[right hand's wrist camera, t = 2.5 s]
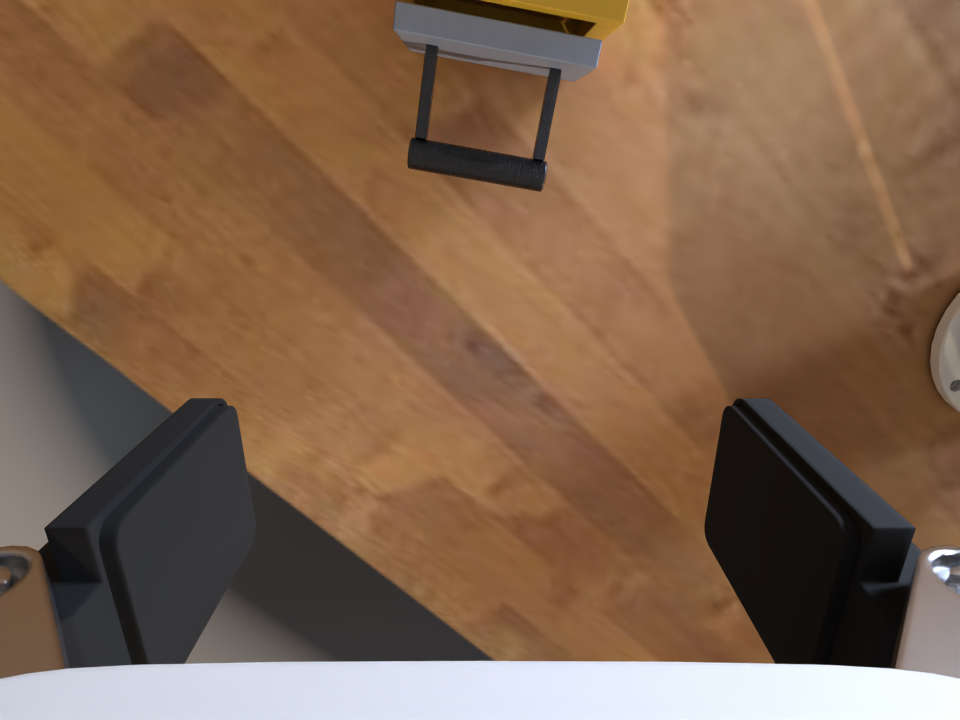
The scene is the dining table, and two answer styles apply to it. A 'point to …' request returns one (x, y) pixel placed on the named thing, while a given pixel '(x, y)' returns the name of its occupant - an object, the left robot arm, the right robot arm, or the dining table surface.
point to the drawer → (495, 48)
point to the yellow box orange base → (590, 3)
